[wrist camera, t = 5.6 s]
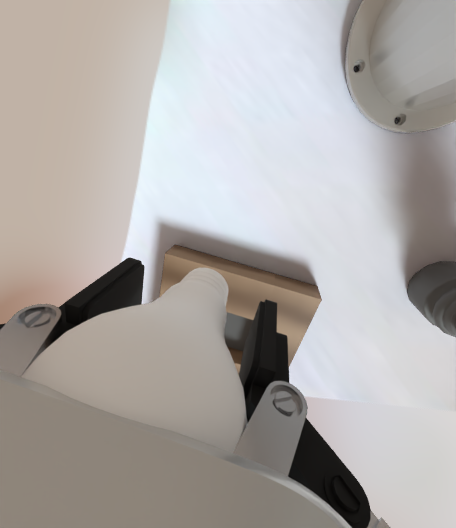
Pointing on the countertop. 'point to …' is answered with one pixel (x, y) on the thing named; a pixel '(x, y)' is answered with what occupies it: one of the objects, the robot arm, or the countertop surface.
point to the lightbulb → (156, 363)
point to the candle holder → (436, 295)
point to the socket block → (248, 297)
